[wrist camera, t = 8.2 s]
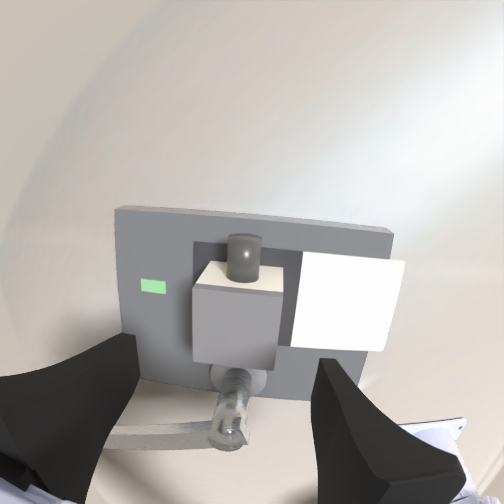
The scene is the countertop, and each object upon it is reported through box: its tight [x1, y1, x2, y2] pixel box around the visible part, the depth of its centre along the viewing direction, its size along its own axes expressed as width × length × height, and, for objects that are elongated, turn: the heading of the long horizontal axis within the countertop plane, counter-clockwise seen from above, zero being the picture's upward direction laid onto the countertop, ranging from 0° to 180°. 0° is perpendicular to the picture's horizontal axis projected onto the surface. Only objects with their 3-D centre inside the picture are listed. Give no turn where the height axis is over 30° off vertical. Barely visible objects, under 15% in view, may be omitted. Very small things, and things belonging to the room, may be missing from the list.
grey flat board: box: [115, 206, 405, 401], centre depth 19 cm, size 12×17×2 cm
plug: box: [192, 233, 283, 371], centre depth 16 cm, size 6×4×4 cm, turn 176°
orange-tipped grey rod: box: [103, 368, 252, 451], centre depth 18 cm, size 14×2×5 cm, turn 108°
